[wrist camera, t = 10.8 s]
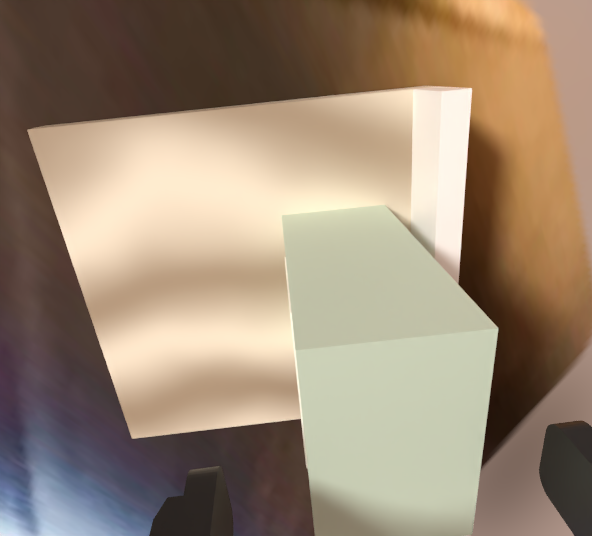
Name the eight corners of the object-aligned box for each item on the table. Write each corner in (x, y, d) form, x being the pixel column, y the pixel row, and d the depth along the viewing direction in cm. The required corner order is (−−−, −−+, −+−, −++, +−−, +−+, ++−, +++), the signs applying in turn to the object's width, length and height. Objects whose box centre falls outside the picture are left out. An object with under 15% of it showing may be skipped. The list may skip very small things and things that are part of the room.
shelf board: (422, 385, 25) (453, 446, 21) (139, 418, 24) (114, 487, 20) (432, 84, 18) (481, 87, 14) (45, 125, 18) (-21, 140, 14)
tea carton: (385, 204, 19) (501, 327, 9) (385, 339, 21) (473, 534, 12) (280, 215, 18) (293, 350, 9) (294, 349, 21) (314, 553, 12)
